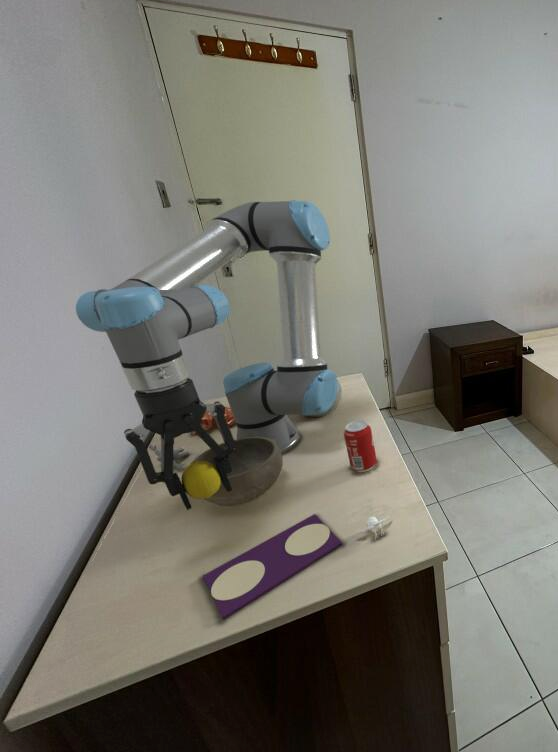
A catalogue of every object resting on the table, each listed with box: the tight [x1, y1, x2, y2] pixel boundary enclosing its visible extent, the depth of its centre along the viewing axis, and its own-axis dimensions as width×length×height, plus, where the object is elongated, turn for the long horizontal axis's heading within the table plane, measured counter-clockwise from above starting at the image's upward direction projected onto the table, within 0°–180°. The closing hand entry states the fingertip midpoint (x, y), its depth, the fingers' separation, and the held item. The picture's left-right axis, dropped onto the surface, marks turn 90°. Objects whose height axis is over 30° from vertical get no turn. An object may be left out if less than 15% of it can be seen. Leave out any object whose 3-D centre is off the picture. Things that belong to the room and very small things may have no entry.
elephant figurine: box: [148, 444, 191, 471], centre depth 103 cm, size 10×6×9 cm
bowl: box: [189, 437, 284, 507], centre depth 91 cm, size 17×18×10 cm
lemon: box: [181, 461, 221, 500], centre depth 72 cm, size 6×6×8 cm
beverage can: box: [343, 420, 378, 473], centre depth 99 cm, size 6×6×12 cm
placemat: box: [202, 514, 343, 621], centre depth 74 cm, size 12×20×1 cm, turn 139°
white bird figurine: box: [354, 515, 390, 540], centre depth 79 cm, size 8×5×5 cm, turn 132°
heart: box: [192, 406, 236, 436], centre depth 120 cm, size 6×12×15 cm
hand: (208, 496), depth 74 cm, fingers closed on lemon, 6 cm apart
